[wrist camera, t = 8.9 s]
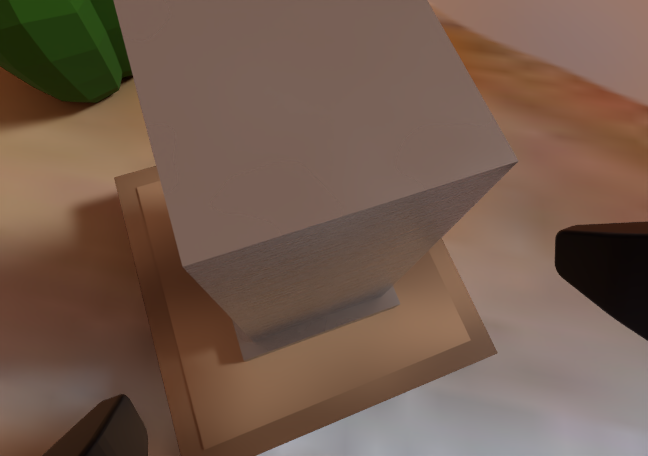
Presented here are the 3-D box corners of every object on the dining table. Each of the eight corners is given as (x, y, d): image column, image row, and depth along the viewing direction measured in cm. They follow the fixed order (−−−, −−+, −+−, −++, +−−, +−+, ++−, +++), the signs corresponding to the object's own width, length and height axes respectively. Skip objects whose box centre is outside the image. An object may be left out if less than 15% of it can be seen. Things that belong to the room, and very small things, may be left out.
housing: (395, 307, 17) (563, 181, 6) (246, 361, 15) (151, 317, 5) (341, 176, 18) (402, -91, 8) (204, 216, 17) (72, -30, 7)
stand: (472, 356, 19) (498, 353, 16) (202, 470, 16) (186, 484, 14) (367, 133, 22) (376, 102, 20) (135, 201, 20) (113, 176, 18)
